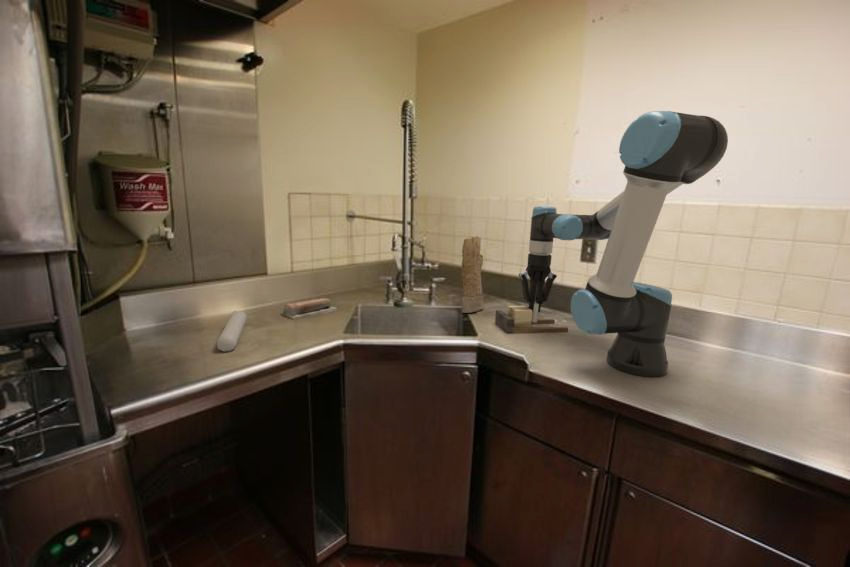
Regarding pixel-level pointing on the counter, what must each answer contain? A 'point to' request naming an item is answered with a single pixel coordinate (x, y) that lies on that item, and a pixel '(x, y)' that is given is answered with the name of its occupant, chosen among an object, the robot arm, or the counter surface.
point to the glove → (472, 275)
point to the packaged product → (308, 308)
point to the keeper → (520, 316)
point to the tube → (232, 331)
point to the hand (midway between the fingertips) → (533, 321)
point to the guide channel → (507, 326)
